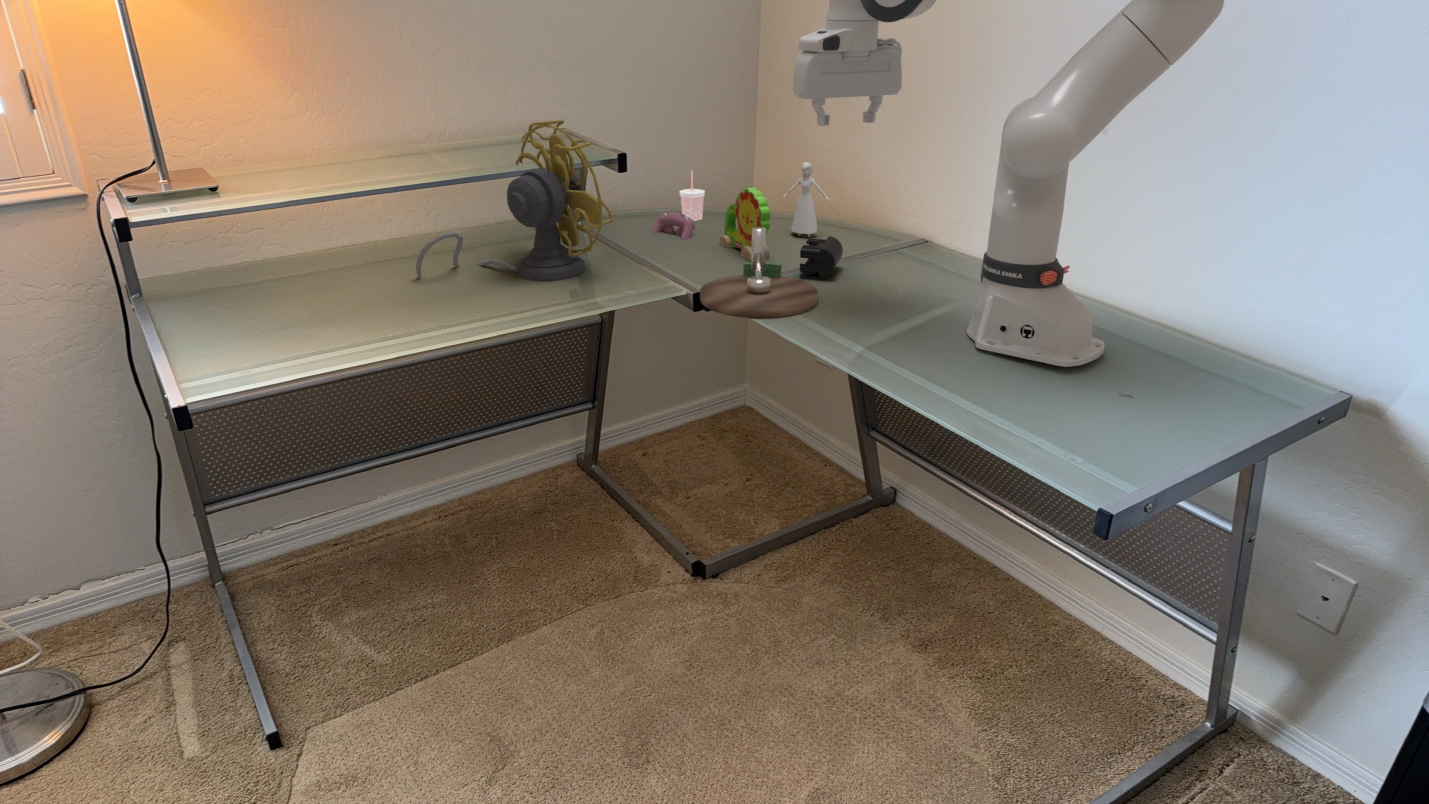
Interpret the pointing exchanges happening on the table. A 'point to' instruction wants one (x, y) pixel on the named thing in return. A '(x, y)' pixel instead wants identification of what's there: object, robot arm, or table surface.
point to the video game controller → (674, 224)
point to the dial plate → (759, 295)
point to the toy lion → (746, 221)
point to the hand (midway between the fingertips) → (846, 123)
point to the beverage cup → (692, 202)
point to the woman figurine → (805, 204)
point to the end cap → (820, 257)
